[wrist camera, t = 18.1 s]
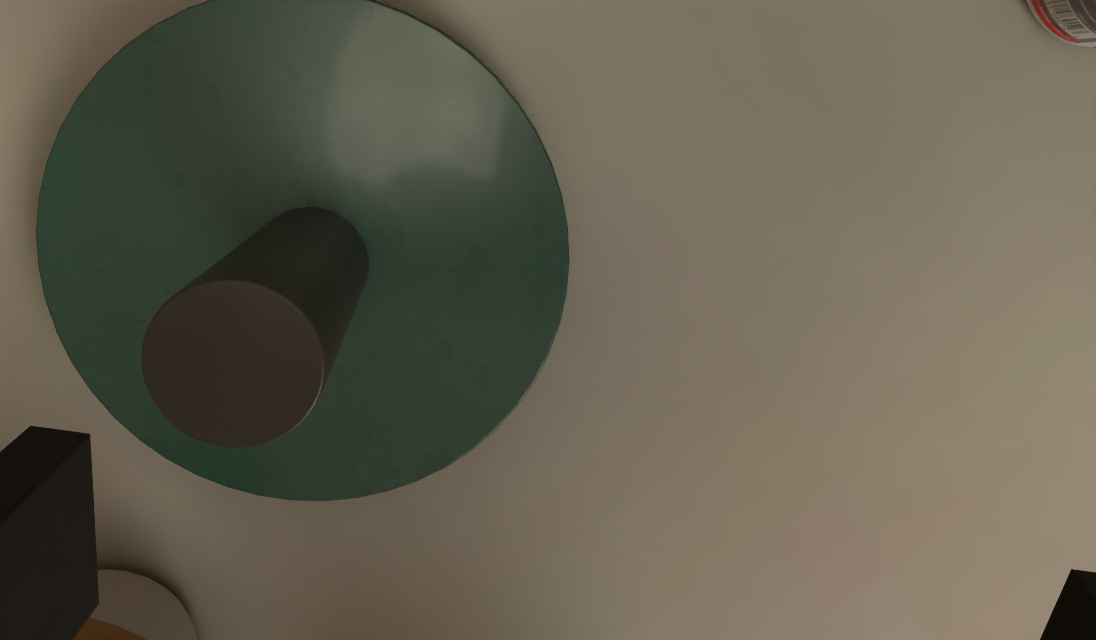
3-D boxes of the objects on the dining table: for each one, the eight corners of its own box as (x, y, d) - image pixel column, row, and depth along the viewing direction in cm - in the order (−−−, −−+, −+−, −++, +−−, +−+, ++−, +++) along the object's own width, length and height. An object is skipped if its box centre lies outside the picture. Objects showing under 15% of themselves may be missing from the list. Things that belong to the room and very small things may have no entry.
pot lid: (493, -67, 28) (529, -181, 16) (613, 414, 32) (709, 600, 21) (-36, 67, 27) (-401, 52, 15) (161, 541, 32) (-5, 808, 20)
